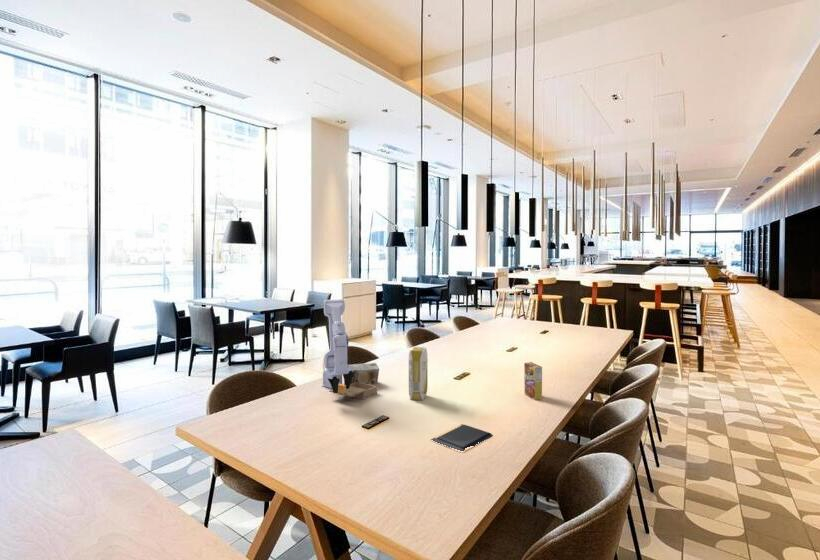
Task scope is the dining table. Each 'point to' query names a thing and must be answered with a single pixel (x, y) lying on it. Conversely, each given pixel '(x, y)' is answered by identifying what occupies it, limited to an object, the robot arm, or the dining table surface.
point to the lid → (348, 390)
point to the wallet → (462, 437)
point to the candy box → (533, 380)
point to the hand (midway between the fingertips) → (341, 390)
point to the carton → (369, 391)
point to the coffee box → (365, 373)
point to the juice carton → (418, 373)
